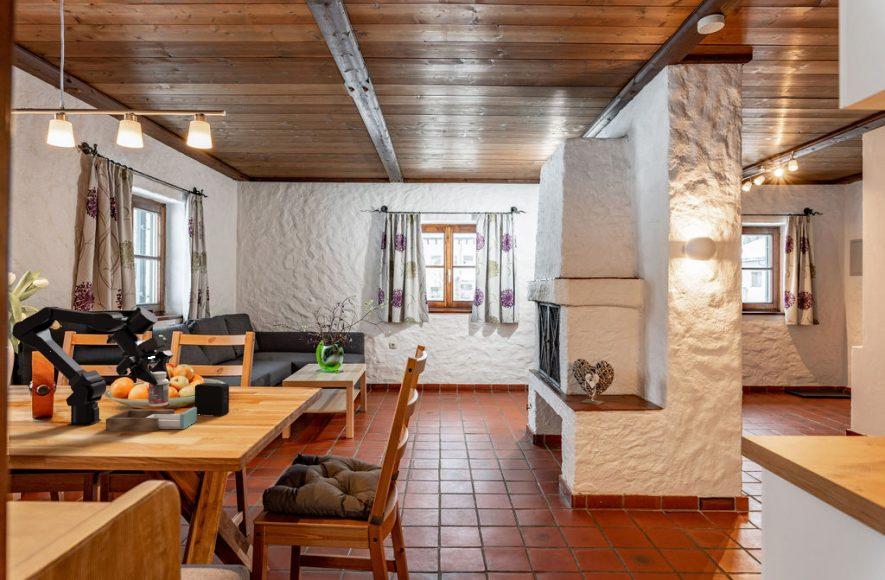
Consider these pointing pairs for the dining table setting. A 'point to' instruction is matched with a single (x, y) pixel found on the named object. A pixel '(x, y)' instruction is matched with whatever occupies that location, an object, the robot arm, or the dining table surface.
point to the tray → (176, 419)
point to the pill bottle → (159, 390)
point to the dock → (135, 420)
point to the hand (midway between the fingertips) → (162, 382)
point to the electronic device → (212, 399)
